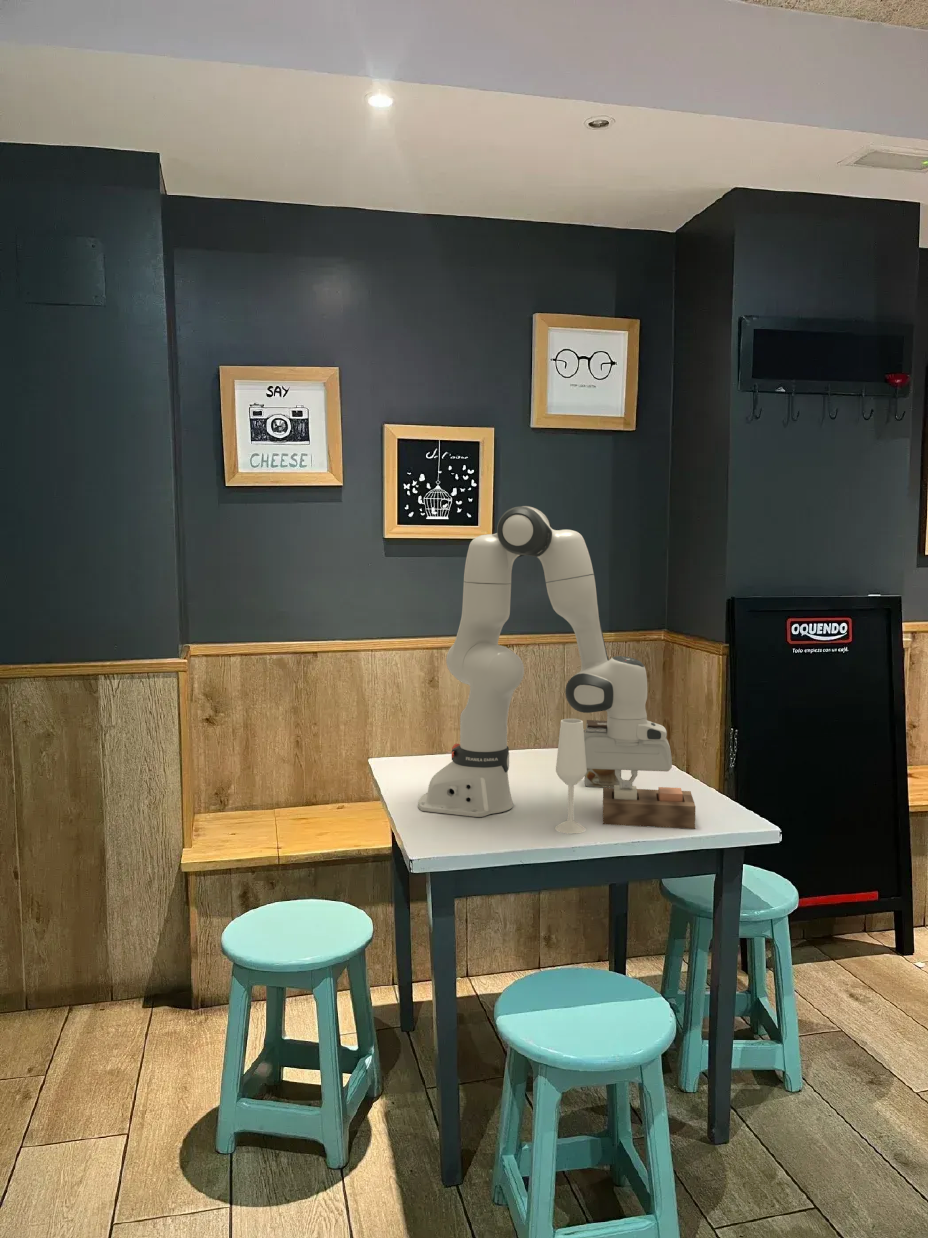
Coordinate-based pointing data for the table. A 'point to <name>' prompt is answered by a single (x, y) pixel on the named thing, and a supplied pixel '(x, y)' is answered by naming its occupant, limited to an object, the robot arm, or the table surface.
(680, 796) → the terracotta key
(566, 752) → the champagne flute
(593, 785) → the coffee box
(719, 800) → the table surface
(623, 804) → the key panel
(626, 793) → the cream key
